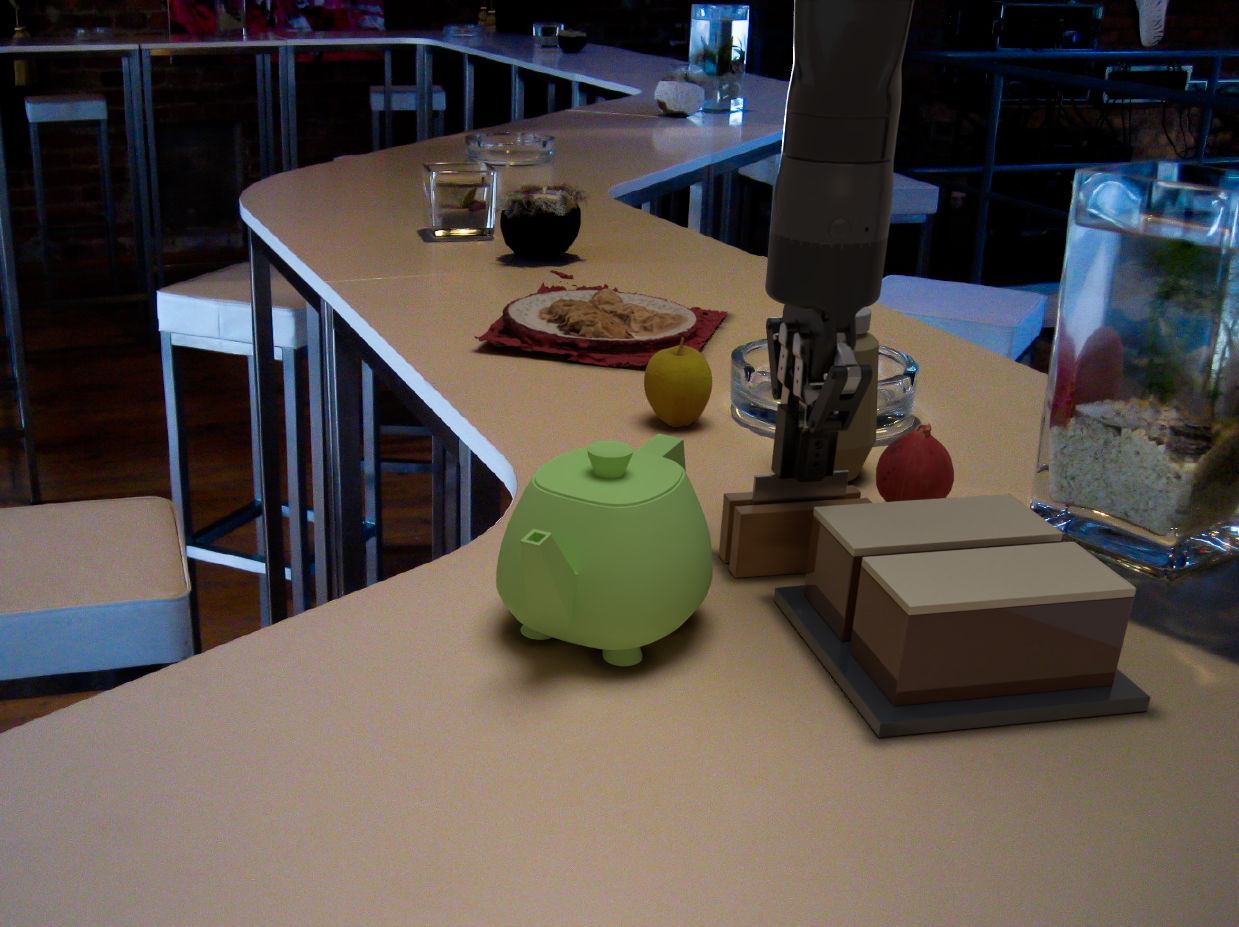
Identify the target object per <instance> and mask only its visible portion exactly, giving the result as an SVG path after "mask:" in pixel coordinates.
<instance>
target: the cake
mask: <svg viewBox="0 0 1239 927" xmlns="http://www.w3.org/2000/svg"><path fill="white" fill-rule="evenodd" d="M813 515H814V516H813V522H812V531H811V539H810V548H809V556H808V565H807V572H806V573H805V574H806V575H805V581H804V582H805V583H804V584H803V585H790V586H789V585H788V586H776V587H775V588H774V592H773V593H774V594H773V602H774V603H775V604H776V605H777V607H778V608H779V609H780V610H781V612H782V613H783V614H784V616H785V617H786V618H787V620H788V621H789V622H790V624H791V625H792V626H793V628H794V629H795V630H796V631H797V633H798V634H799V635H800V637H801V638H802V639H803V640H804V642H805V643H806V644H807V645H808V648H810V649H811V651H812V652H813V653H814V655H815V656H816V657H817V659H818V660H819V661H820V662H821V664H822V665H823V667H824V668H825V669H826V670H827V672H828V673H829V675H830V676H831V677H832V679H833V680H834V681H835V682H836V684H837V685H838V686H839V688H840V689H841V690H842V692H843V693H844V694H845V695H846V696H847V698H848V699H849V701H850V702H851V703H852V704H853V706H854V707H855V708H856V710H857V711H858V712H859V713H860V715H861V716H862V718H863V719H864V721H866V723H867V724H868V725H869V727H870V728H871V730H873V732H874V733H875V735H876V736H877V737H878V738H888V737H897V736H899V737H900V736H906V735H907V736H908V735H917V734H928V733H939V732H947V731H948V732H949V731H958V730H959V731H960V730H968V729H977V728H988V727H990V728H991V727H997V726H998V727H999V726H1009V725H1019V724H1028V723H1029V724H1030V723H1039V722H1048V721H1050V722H1051V721H1059V720H1069V719H1079V718H1089V717H1091V718H1092V717H1098V716H1099V717H1100V716H1109V715H1120V714H1128V713H1129V714H1131V713H1139V712H1140V713H1141V712H1147V711H1148V709H1149V707H1150V706H1149V705H1150V702H1151V696H1150V695H1149V694H1148V693H1146V691H1144V690H1143V689H1142V688H1141V687H1140V686H1138V685H1137V684H1136V683H1135V682H1134V681H1133V680H1131V679H1130V678H1129V677H1128V676H1127V675H1126V674H1124V672H1122V671H1121V670H1120V669H1118V666H1119V662H1120V657H1121V654H1122V650H1123V646H1124V641H1125V637H1126V633H1127V630H1128V625H1129V620H1130V617H1131V613H1132V610H1133V604H1134V601H1135V596H1136V591H1137V587H1136V586H1135V585H1133V584H1132V583H1130V581H1127V580H1126V578H1124V577H1122V576H1121V575H1120V574H1118V573H1117V572H1116V571H1114V570H1113V569H1112V568H1111V567H1109V566H1108V565H1106V564H1105V563H1104V562H1102V560H1100V559H1098V558H1097V557H1096V556H1094V554H1091V553H1090V552H1089V551H1088V550H1086V549H1084V547H1082V546H1081V545H1079V544H1078V543H1077V542H1075V541H1062V539H1063V532H1062V531H1061V530H1059V529H1058V528H1057V527H1056V526H1054V525H1052V523H1050V522H1049V521H1047V520H1046V519H1045V518H1043V517H1042V516H1041V515H1040V514H1038V513H1037V512H1035V511H1034V510H1033V509H1031V508H1030V507H1029V506H1027V505H1026V504H1024V502H1022V501H1021V500H1019V499H1018V498H1016V497H1015V496H1014V495H1012V494H1011V493H1003V494H987V495H970V496H956V497H946V498H940V499H925V500H910V501H896V502H886V501H884V502H883V501H882V502H872V503H866V504H851V505H836V506H821V507H814V513H813ZM1061 541H1062V542H1061Z"/></svg>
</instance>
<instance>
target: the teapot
mask: <svg viewBox="0 0 1239 927" xmlns="http://www.w3.org/2000/svg"><path fill="white" fill-rule="evenodd" d="M684 443H685V441H684V438H680V437H677V436H672V435H667V434H664V433H657V434H655V435H654V436H653V437H652V438H650V439H649V440H648V441H647V442H645V443H644V444H643V445H642V446H641V447H639V448H638V449H637V450H636V449H634V447H633V446H632V445H630V444H628V443H626V442H622V441H619V440H613V439H609V440H608V439H607V440H599V441H594V442H592V443H590V444H589V445H587V446H584V447H579V448H575V449H572V450H568V451H566V452H563V453H561V454H559V455H557V456H554V457H553V458H550V459H549V460H548V461H546V462H545V463H544V464H543V465H541V466H540V467H539V468H538V469H537V470H536V471H535V472H534V474H533V476H532V477H531V479H530V480H529V482H528V483H527V484H526V487H525V488H524V490H523V492H522V494H521V496H520V498H519V500H518V502H517V503H516V505H515V508H514V509H513V512H512V514H511V516H510V519H509V520H508V523H507V525H506V527H505V532H504V534H503V537H502V540H501V544H500V547H499V548H500V549H499V552H498V558H497V563H496V571H495V572H496V573H495V583H496V584H495V585H496V590H497V593H498V596H499V598H500V599H501V601H502V602H503V605H504V606H505V607H506V608H507V609H508V611H509V612H510V613H511V614H512V615H513V616H514V618H515V619H516V620H517V622H519V623H521V624H522V625H521V627H520V633H521V635H523V636H524V637H525V638H528V639H532V640H537V641H538V640H539V641H540V640H541V641H542V640H549V639H552V638H555V639H557V640H560V641H564V642H567V643H571V644H575V645H578V646H583V647H587V648H594V649H597V650H602V658H603V660H604V661H605V662H607V663H608V664H611V665H613V666H618V667H631V666H635V665H638V664H639V663H640V662H641V661H642V660H643V653H642V648H641V647H644V646H647V645H650V644H652V643H654V642H657V641H659V640H661V639H663V638H664V637H667V636H668V635H670V634H672V633H673V632H675V631H676V630H677V629H679V628H680V627H681V626H682V625H684V623H685V622H687V620H688V619H690V617H691V616H692V615H693V614H694V613H695V612H696V610H698V609H699V607H700V605H702V603H703V602H704V600H705V598H706V597H707V595H708V593H709V590H710V588H711V585H712V581H713V571H714V570H713V567H714V562H713V546H712V539H711V533H710V528H709V526H708V521H707V518H706V516H705V512H704V510H703V507H702V505H701V503H700V500H699V498H698V495H697V493H696V491H695V489H694V487H693V484H692V481H691V479H690V478H689V475H688V474H687V470H686V468H687V467H686V456H685V444H684Z"/></svg>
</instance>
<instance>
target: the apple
mask: <svg viewBox="0 0 1239 927" xmlns="http://www.w3.org/2000/svg"><path fill="white" fill-rule="evenodd" d="M683 342H684V338H683V337H682V339H681V342H680V346H675V347H672V348H668V349H664V350H661V351H659V352H657V353H656V354H655V355H653V356H652V357H651V359H650V360H649V362H648V365H647V367H645V370H644V376H643V389H644V393H645V397H646V400H647V402H648V403H649V405H650V407H651V409H652V410H653V412H654V413H655V415H656V417H658V418H659V419H660V420H661V421H663V422H664V423H665V424H667V425H669V426H670V427H672V428H680V427H686V426H689V425H690V424H692V423H693V422H696V421H697V420H698V419H699V418H700V417H701V416H702V414H703V413H704V411H705V409H706V407H707V405H708V403H709V400H710V398H711V394H712V390H713V373H712V369H711V367H710V365H709V363H708V360H707V359H706V357H705V356H704V355H703V354H701V352H700V351H699V352H698V351H697V350H695V349H693V348H691V347H688V346H682V344H683Z"/></svg>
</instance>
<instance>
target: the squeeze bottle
mask: <svg viewBox="0 0 1239 927" xmlns="http://www.w3.org/2000/svg"><path fill="white" fill-rule="evenodd" d="M855 318H856V334H857V341H856V346H855V353H854V357H855V359H856V362H857V364H858V365H861V364H869V365H870V366H871V367H872V373H873V375H872V380H871V382H870V384H869V386H868V388H867V391H866V393H865V395H864V397H863V399H862V401H861V403H860V405H859V408H858V410H857V412H856V414H855V416H854V418H853V420H852V422H851V424H850V427H849V429H848V430H847V431H838V440H837V448H836V456H835V464H834V471H836V470H848V471H849V474H848V482H851V481H853V480H855V479H856V478H857V477H858V476H859V474H860V472H861V471H862V469H863V466H864V465H865V463H866V461H867V459H868V457H869V455H870V453H871V452H872V449H873V447H874V445H875V443H876V442H877V423H878V392H879V391H878V390H879V358H880V356H879V355H880V340H878V338H877V337H876V336H874V335H873V334H872V333H870V332H869V331H870V328H871V321H872V308H869V306H868V307H864V308H862V309H861V310H860V311H859V312H858V313H857V314H856V316H855Z"/></svg>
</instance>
